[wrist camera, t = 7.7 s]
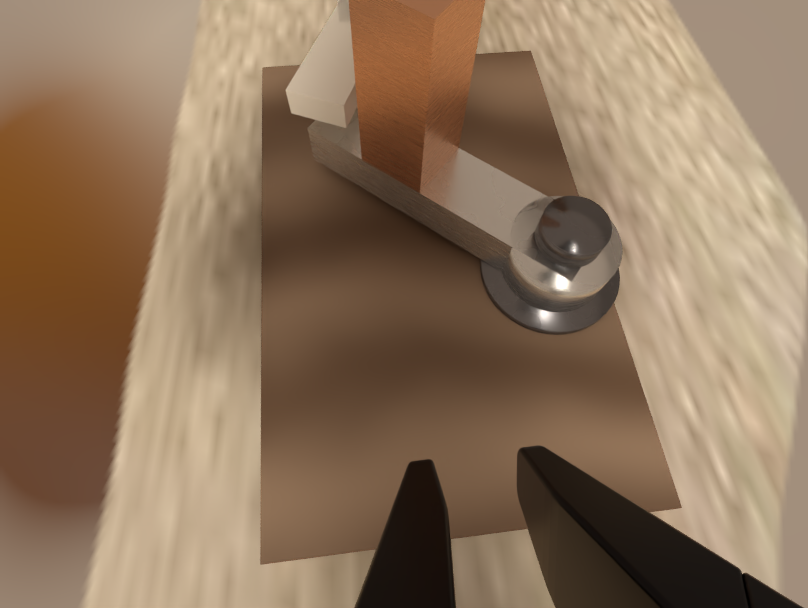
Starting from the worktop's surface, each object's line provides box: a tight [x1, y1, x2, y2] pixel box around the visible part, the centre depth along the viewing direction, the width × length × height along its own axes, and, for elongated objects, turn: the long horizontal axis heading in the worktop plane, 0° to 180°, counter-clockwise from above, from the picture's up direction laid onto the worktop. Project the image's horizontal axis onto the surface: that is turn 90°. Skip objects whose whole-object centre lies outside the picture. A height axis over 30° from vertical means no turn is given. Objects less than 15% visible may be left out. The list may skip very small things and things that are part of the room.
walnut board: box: [261, 51, 682, 564], centre depth 22 cm, size 24×15×1 cm, turn 7°
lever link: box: [308, 0, 622, 312], centre depth 17 cm, size 4×14×10 cm, turn 55°
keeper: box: [286, 0, 357, 128], centre depth 23 cm, size 8×5×4 cm
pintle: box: [480, 196, 620, 335], centre depth 19 cm, size 6×6×4 cm
